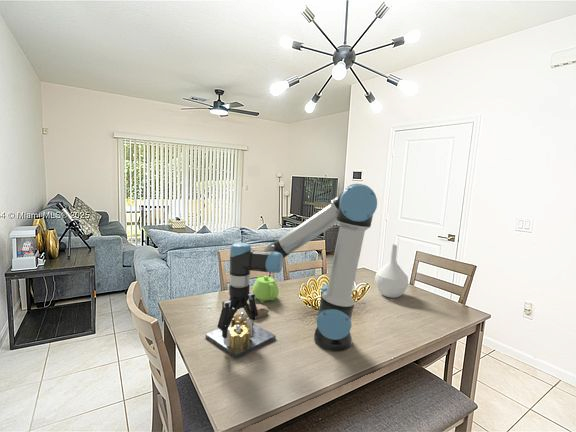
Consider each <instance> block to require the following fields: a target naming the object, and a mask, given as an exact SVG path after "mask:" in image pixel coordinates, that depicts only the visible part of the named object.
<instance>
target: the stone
mask: <svg viewBox="0 0 576 432" xmlns="http://www.w3.org/2000/svg"><path fill="white" fill-rule="evenodd" d="M247 303H248V305H249V308H250V304H249V302H247ZM256 308H257V312H258V316H255V317H256V319H259V318H261V317H265V316H267V315H268V313H269V311H270V309H269V308H268V307H267V305H264V304H261V303H258V304H257V303H256ZM250 310H251V308H250Z"/></svg>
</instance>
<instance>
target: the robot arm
mask: <svg viewBox="0 0 576 432" xmlns="http://www.w3.org/2000/svg"><path fill="white" fill-rule="evenodd" d="M377 208H378V198H377V195H376V194H375V192H374V190H373V188H371V187H370V186H368V185H366V184H362V183H353V184H350V185H348V186H347V187H345V188H344V189H343V190H342V192H340V193H339V194H338V195H337V196H335V198H332V199H331V201H330V204H329V205H327V206H326V207H324V208H323V209H321V210H320V211H318V212H317V213H315V214H314V215H312V216H311V217H309V218H308V219H306V220H305V221H304V222H302V223H301V224H299V225H297V226H296V227H295V228H293V229H291V230H290V231H288V232H287V233H286V234H284V235H283V236H281V237H279V239H276V240H275V241H274V242H271V243H270V244H269V245H267V247H266V248H264V250H255V249H252V248H251V247H252V245H251V244H250V243H247V242H236V243H233V244H231V245H230V250H229V251H230V252H229V287H228V288H229V289H228V294H229V297H230V298H229V299H228V300H227V301H225V300H224V301H222V303H221V304H222V308H221V312H220V315H219V319H218V323H217V329H220V330H222V337H223V338H224V345H226V346H227V347H228V346H230V329H228V328H229V325H230V324H231V321H232V319H233V316H234V315H236V313H237V312H238V310H240V309H243V310H244V311H245V314H246V313H247V315H248V317H249V318H247V326H246V328H250V336H252V326H253V325H254V324H255V323H254V321H256V319H257V318H256V317H255V316H258V312H257V308H256V304H257V303H256V297H255V295H254V294H253V292H250V287H251V286H250V284H251V283H250V282H251V281H250V280H251V271H254V272H261V273H262V272H263V273H270V274H278V273H281V272H282V269H283V266H284V265H283V264H284V259H285V258H286V257H288V256H289V255H290V254H292V253H294V252H295V251H296V250H298V249H299V248H302V247H304V245H306V244H307V243H309V242H311V241H312V240H314V239H315V238H317V237H318V236H320V235H321V234H323V233H324V232H327V230H329V229H331V228H332V227H334V226H335V225H336V224H338V226H339V228H338V234H337V239H336V244H335V249H334V253H333V254H334V255H333V258H332V259H333V260H332V264H331V269H330V275H329V280H328V284H325V285H323V286H322V287H321V291H320V303H319V307H318V314H317V317H316V328H315V331H314V335H313V337H314V338H313V341H314V343H315V345H317V346H318V347H320V348H322V349H324V350H327V351H329V352H330V351H332V352H342V351H346V350H348V349H349V348H351V346H352V341H353V340H352V334H351V329H352V327H353V326H352V317H353V311H354V307H355V299H354V298H353V297H352V294H353V291H354V284H355V280H356V275H357V271H358V265H359V261H360V255H361V251H362V246H363V242H364V237H365V232H366V231H367V230H368V229H370V228H371V227H372V222H373V216H374V214H375V213H376V210H377ZM248 303H249V304H250V308H251V310H250V308H249V305H248Z"/></svg>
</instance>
